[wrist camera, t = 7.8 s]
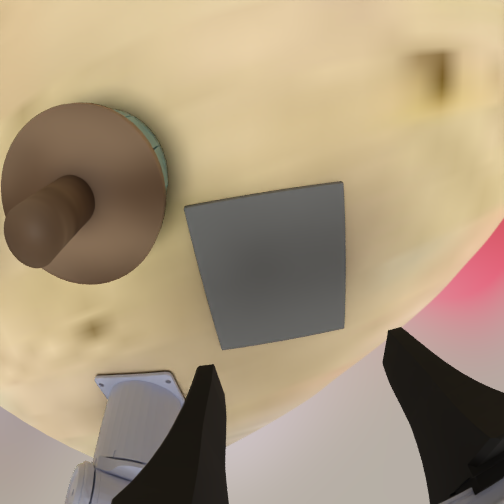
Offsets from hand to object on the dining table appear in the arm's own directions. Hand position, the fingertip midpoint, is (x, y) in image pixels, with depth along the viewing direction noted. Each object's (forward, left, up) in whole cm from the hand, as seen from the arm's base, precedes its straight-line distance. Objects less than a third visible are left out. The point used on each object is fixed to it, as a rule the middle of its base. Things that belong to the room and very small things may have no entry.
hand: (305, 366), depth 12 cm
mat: (-2, 0, -10) cm, 11 cm away
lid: (+7, +10, -7) cm, 14 cm away
